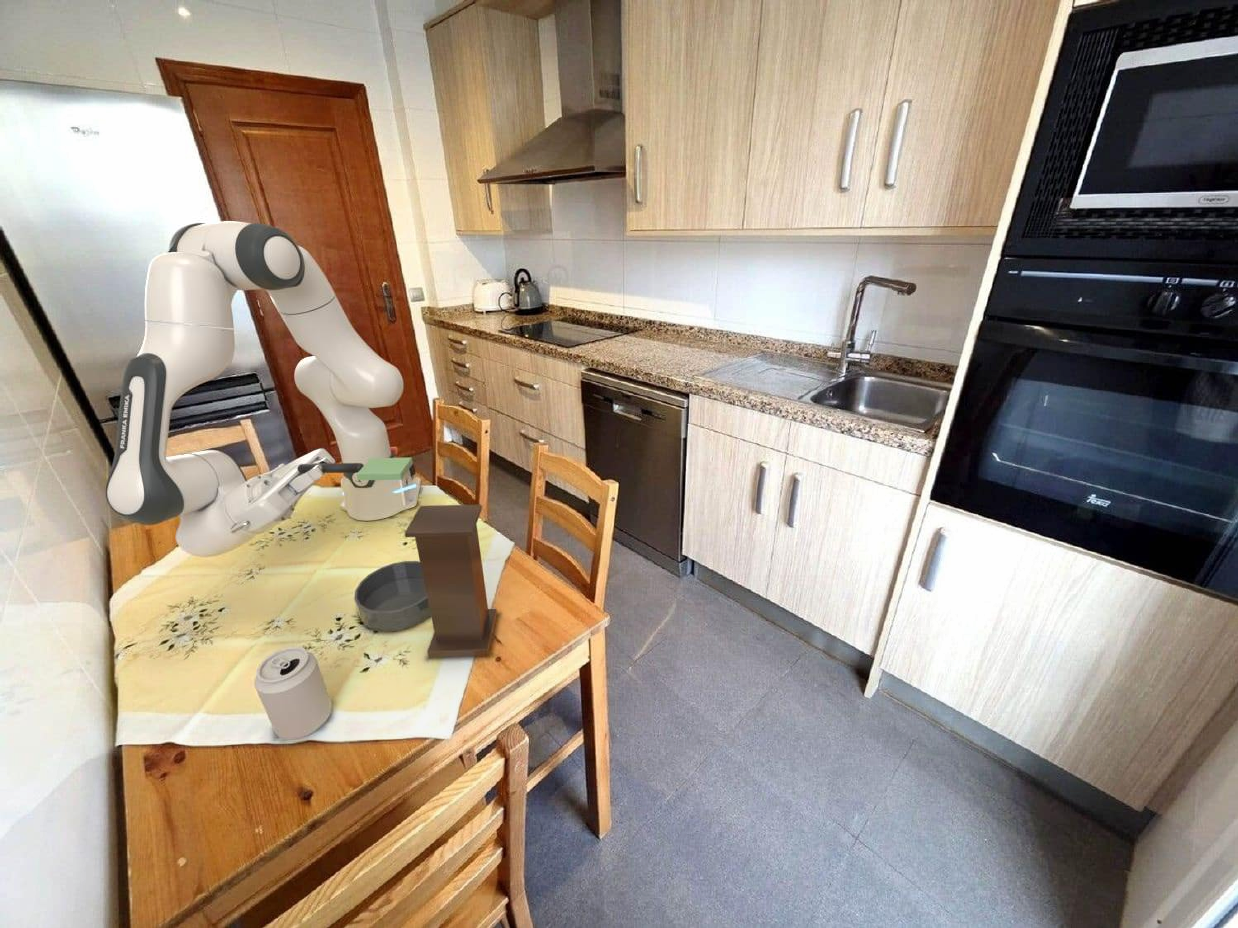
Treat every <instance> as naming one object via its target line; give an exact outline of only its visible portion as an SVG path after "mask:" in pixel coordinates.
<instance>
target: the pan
mask: <svg viewBox="0 0 1238 928" xmlns="http://www.w3.org/2000/svg"><path fill="white" fill-rule="evenodd" d="M353 600H354V603H355V607H356V610H357V613H358V617H359V619H360V621H361V623H362V624H363V625H364V626H365V627H367V628H368V629H370V630H373V631H377V632H383V633H390V632H399V631H403V630H407V629H410V628H413V627H414V626H417V625H419V624H421V623H422V622H425V621H426V620H427V619H429V618H431V613H430V608H429V603H428V598H427V594H426V589H425V584H424V579H423V574H422V569H421V564H420V560H404V561H399V562H394V563H393V562H392V563H390V564H387V565H385V566H382V567H379V568H378V569H376V570H375V571H372V572H370V573H369V574H367V575H366V577H365V578H363V579H362V580H360V582H359V583H358V585H357V587H356V589H355V590H354V596H353Z"/></svg>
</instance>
